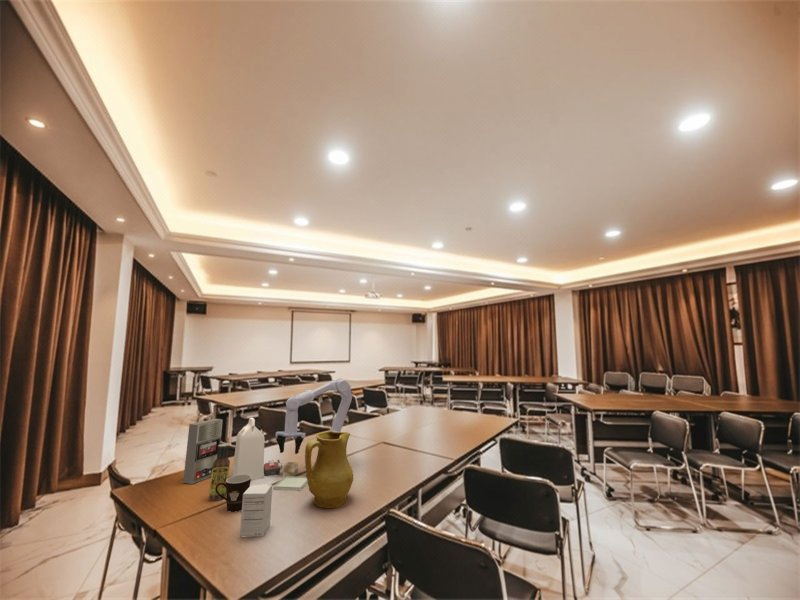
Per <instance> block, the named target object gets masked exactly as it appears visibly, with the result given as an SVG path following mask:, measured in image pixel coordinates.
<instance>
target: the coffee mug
mask: <svg viewBox="0 0 800 600" xmlns="http://www.w3.org/2000/svg"><path fill="white" fill-rule="evenodd" d="M251 482H252V480H251V476H250V475H237V476H230V477H228V479H227V480H226V484H225V483H220V484H218V485H217V486H216V488H215V491H216V493H217V494H218V495H219V496H220V497H222V498H223V499H222V500H225V501H226V511H227V512H228V511H231V512H230V513H235V511H237V512H240V511H242V501H243V494H244V492H245V491H246V490H247V489H248V488H249V487H250V486H251ZM219 485H224V486H225V487H226V496H225V497H224V496H222V495H221V494H219V492H218V491H217V487H218V486H219ZM239 510H240V511H239Z"/></svg>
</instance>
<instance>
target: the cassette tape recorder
mask: <svg viewBox="0 0 800 600" xmlns="http://www.w3.org/2000/svg"><path fill="white" fill-rule="evenodd" d="M222 430H223V419H221V418H213V419H207V420H204V421H203V420H202V421H198V422H193V423H189V427H188V432H187V433H188V435H187V445H186V453H185V462H184V471H183V478H182V483H183V484H188V485H195V484H196V483H200V482H201V481H203V480H206V479H210V478H211V474H212V469H213V463H214V461H215V460H216V458H217V455H218V445H220V444H222V433H223V431H222Z"/></svg>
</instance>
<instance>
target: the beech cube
mask: <svg viewBox="0 0 800 600" xmlns="http://www.w3.org/2000/svg"><path fill="white" fill-rule="evenodd" d="M282 470H283V471H282V477H283V478H284V477H286V476H294V477H296V475H298V471H299V462H297V461H296V462H294V461H287V462H286V463H284V465H283V466H282Z"/></svg>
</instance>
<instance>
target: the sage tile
mask: <svg viewBox="0 0 800 600" xmlns="http://www.w3.org/2000/svg"><path fill="white" fill-rule="evenodd" d="M306 485H308V481H307V478H306V476H286V477H283V478H282V479H281V480H280V481H278V482H277V483H276V484H274V485H273V486H272V490H280V491H282V490H283V491H302V490H303V489H304V488H305V487H306Z"/></svg>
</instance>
